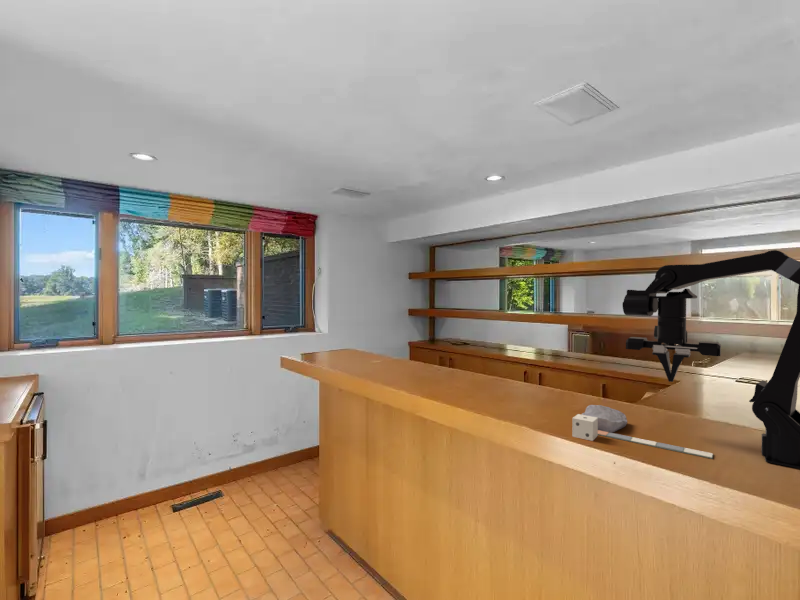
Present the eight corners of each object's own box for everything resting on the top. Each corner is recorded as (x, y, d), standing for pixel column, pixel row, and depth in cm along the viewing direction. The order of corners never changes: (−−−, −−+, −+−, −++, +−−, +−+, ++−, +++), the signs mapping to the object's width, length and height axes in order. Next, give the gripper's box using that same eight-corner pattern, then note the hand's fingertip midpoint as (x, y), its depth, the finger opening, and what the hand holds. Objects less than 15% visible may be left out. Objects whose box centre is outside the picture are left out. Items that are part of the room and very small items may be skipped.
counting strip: (713, 454, 84) (713, 453, 84) (712, 458, 82) (712, 457, 82) (587, 429, 101) (587, 427, 101) (583, 431, 98) (583, 430, 98)
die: (597, 436, 96) (597, 417, 96) (592, 441, 92) (592, 421, 92) (577, 432, 98) (577, 413, 98) (572, 436, 95) (572, 417, 95)
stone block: (625, 429, 107) (585, 416, 112) (629, 412, 106) (589, 399, 111) (621, 444, 97) (577, 428, 102) (626, 426, 96) (582, 411, 101)
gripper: (722, 317, 97) (721, 381, 97) (634, 315, 109) (633, 372, 109) (720, 319, 88) (719, 389, 88) (625, 316, 100) (624, 378, 100)
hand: (670, 381), depth 97 cm, fingers closed
